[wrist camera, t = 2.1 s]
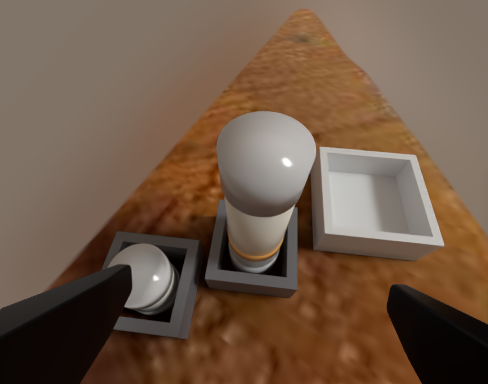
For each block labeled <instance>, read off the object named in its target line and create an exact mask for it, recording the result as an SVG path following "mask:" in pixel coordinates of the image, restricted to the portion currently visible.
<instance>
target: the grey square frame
mask: <svg viewBox="0 0 488 384" xmlns="http://www.w3.org/2000/svg"><path fill="white" fill-rule="evenodd" d="M297 212H298V207H294V209H293V212H292V215H291V217H290V220H289V223H288V225H287V228H286V231H285V234H284V238H283V241H282V270H281V277H278V276H269V275H261V274H252V273H244V272H235V271H226V270H222V265H223V259H224V252H225V246H226V240H227V233H228V223H227V214H226V205H225V200H220V201H219V206H218V211H217V216H216V222H215V227H214V232H213V238H212V243H211V248H210V253H209V259H208V264H207V269H206V275H205V280H206V282H207V284H208V286H209V288H212V289H221V290H229V291H237V292H245V293H254V294H262V295H270V296H279V297H287V298H290V297H291V296H292V295H293V294H294V293H295V292H296V291H297Z"/></svg>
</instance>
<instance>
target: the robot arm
mask: <svg viewBox="0 0 488 384" xmlns="http://www.w3.org/2000/svg"><path fill="white" fill-rule="evenodd" d="M131 292H132V269H131V266H130V265H127V264H117V265H114V266H112V267H109V268H106V269H104V270H101V271H98V272H96V273H93V274H91V275H88V276H85V277H83V278H80V279H77V280H75V281H72V282H70V283H67V284H64V285H62V286H59V287H56V288H54V289H51V290H48V291H46V292H43V293H41V294H38V295H35V296H33V297H30V298H28V299H25V300H22V301H20V302H17V303H14V304H12V305H9V306H6V307H4V308H1V310H0V384H80V383H81V381H82V379H83V378H84V376H85V375H86V373H87V371H88V370H89V368H90V367H91V365H92V363H93V362H94V360H95V359H96V357H97V355H98V354H99V352H100V350H101V349H102V347H103V346H104V344H105V342H106V341H107V339H108V337H109V336H110V334H111V332H112V330H113V329H114V327H115V325H116V323H117V321H118V318H119V316H120V314H121V312H122V310H123V308H124V306H125V304H126V302H127V300H128V298H129V296H130V294H131ZM387 312H388V314H389V317H390V319H391V321H392V324H393V326H394V328H395V330H396V333H397V335H398V337H399V339H400V342H401V344H402V346H403V349H404V351H405V353H406V355H407V357H408V359H409V361H410V363H411V365H412V367H413V368H414V370H415V372H416V374H417V376H418V377H419V379H420V381H421V383H422V384H488V324H486V323H484V322H482V321H480V320H478V319H476V318H474V317H472V316H470V315H467V314H465V313H463V312H461V311H459V310H457V309H455V308H453V307H451V306H449V305H447V304H445V303H443V302H440V301H438V300H436V299H434V298H432V297H430V296H428V295H426V294H424V293H422V292H420V291H418V290H416V289H413V288H411V287H409V286H407V285H403V284H393V285H392V286H391V288H390V292H389V297H388V301H387Z"/></svg>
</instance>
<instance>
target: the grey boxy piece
mask: <svg viewBox="0 0 488 384" xmlns="http://www.w3.org/2000/svg"><path fill="white" fill-rule="evenodd" d="M142 243H143V244H151V245H154V246H156V247H157V248H159V249H160V250H161V251H162V252H163V253H164V254H165V256H166V257H167V258H171V259H180V260H185V261H184V265H183V270H182V274H181V278H180V282H179V286H178V291H177V295H176V299H175V303H174V307H173V311H172V316H171V320H170V323H166V322H159V321H151V320H143V319H135V318H128V317H120V316H119V318H118V321H117V323H116V325H115V327H114V329H113V330H120V331H127V332H135V333H143V334H150V335H158V336H165V337H173V338H180V339H188V334H189V329H190V324H191V319H192V314H193V309H194V304H195V299H196V294H197V289H198V284H199V279H200V274H201V269H202V264H203V259H204V251H203V248H202V246H201V243H200V241H199V240H193V239H184V238H175V237H166V236H157V235H148V234H138V233H129V232H120V231H117V233H116V235H115V237H114V240H113V242H112V245H111V247H110V250H109V252H108V255H107V257H106V260H105V262H104V265H103V267H102V269H101V270H104V269H106V268H108V266H109V264H110V262H111V261H112V260H113V258H114V257H115V256H116V255H117V254H118V253H119V252H121V251H122V250H124V249H125V248H127V247H129V246H132V245H135V244H142Z"/></svg>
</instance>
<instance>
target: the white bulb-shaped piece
mask: <svg viewBox="0 0 488 384" xmlns="http://www.w3.org/2000/svg"><path fill="white" fill-rule="evenodd" d="M216 146H217V157H218V165H219V173H220V181H221V187H222V191H223V194H224V196H225V205H226V214H227V223H228V238H229V252H230V259H231V263H232V265H233V266H234V268H235V269H236V270H237V271H238V272H244V273H252V274H261V275H265V274H267V273H268V272H269V271H270V270H271V269H272V268H273V266H274V264H275V262H276V259H277V257H278V254H279V251H280V246H281V244H282V241H283V238H284V234H285V231H286V228H287V225H288V223H289V220H290V217H291V215H292V212H293V209H294V206H295V204H296V203H297V202H298V200H299V198H300V196H301V194H302V191H303V189H304V186H305V183H306V181H307V178H308V175H309V173H310V170H311V168H312V165H313V162H314V160H315V156H316V146H315V142H314V139H313V137H312V135H311V134H310V132H309V131H308V130H307V129H306V127H305V126H303V125H302V124H301V123H300V122H298V121H297V120H295V119H293V118H291V117H289V116H287V115H284V114H280V113H276V112H268V111H260V112H251V113H247V114H244V115H241V116H239V117H237V118H235V119H233V120H232V121H230V122H229V123H228V124H227V125H226V126H225V127H224V128H223V129H222V131H221V132H220V134H219V136H218V140H217V145H216Z"/></svg>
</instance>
